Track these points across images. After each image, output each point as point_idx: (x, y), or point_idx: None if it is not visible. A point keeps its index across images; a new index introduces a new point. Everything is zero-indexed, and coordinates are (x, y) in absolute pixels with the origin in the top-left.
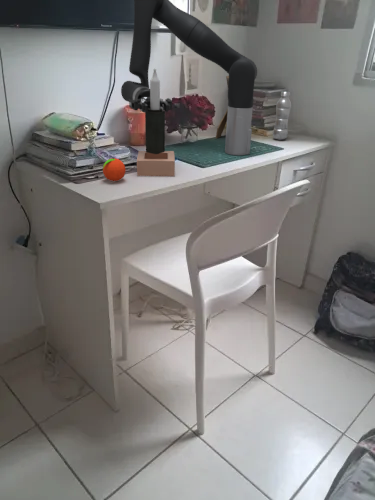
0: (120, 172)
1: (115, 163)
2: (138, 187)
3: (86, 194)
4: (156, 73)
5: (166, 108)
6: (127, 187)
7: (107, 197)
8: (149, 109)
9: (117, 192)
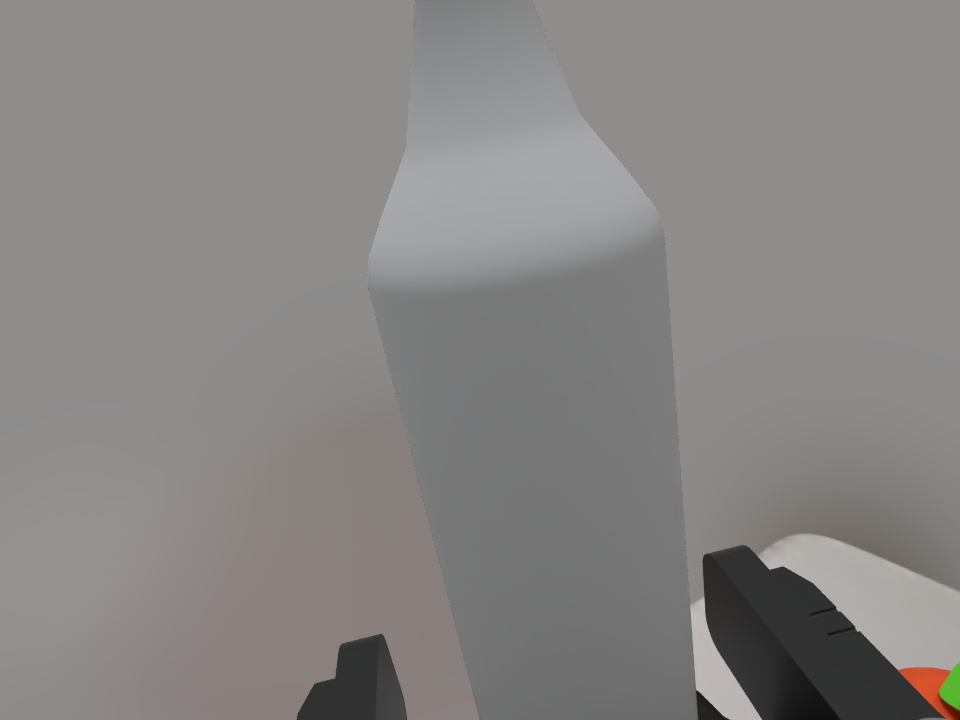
0: None
1: (906, 673)
2: (708, 692)
3: (942, 593)
4: (423, 19)
5: (393, 669)
6: None
7: (811, 570)
8: (701, 713)
9: None
